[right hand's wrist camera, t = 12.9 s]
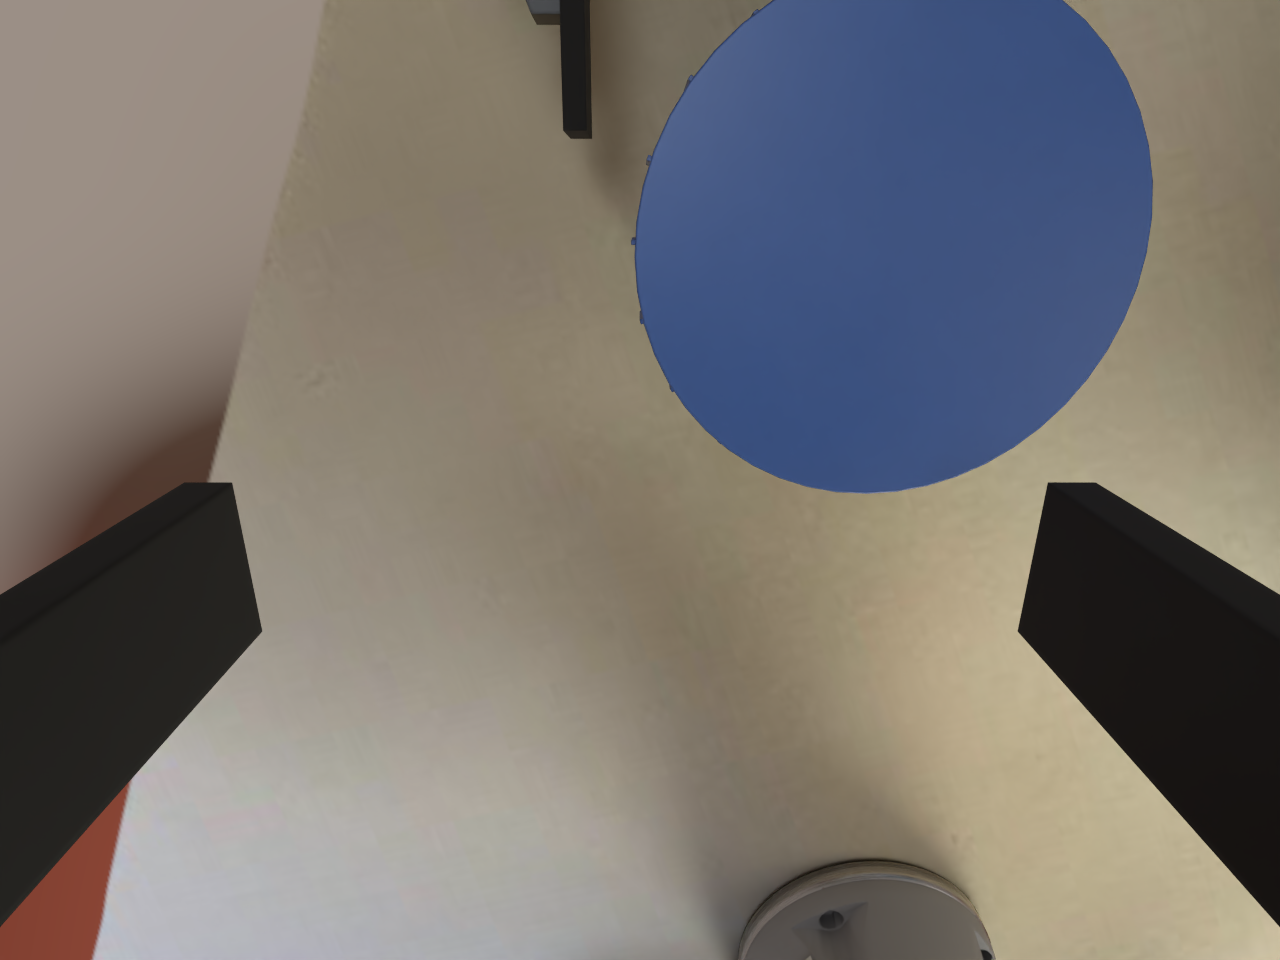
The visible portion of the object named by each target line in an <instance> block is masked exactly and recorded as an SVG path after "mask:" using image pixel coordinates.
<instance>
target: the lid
mask: <svg viewBox="0 0 1280 960" xmlns="http://www.w3.org/2000/svg"><path fill="white" fill-rule="evenodd" d="M646 165H648V166H649V168H648V171H647V174H646V178H645V181H644V184H643V188H642V194H641V200H640V205H639V211H638V216H637V223H636V237H632V240H631V245H635V268H636V282H637V293H638V298H639V302H640V307H641V311H640V323H641V324H644V326H645V329H646V332H647V334H648V337H649V340H650V343H651V346H652V349H653V352H654V355H655V357H656V359H657V361H658V363H659V365H660V367H661V369H662V371H663V373H664V375H665V377H666V379H667V381H668V383H669V386H670V390H671V391H672V392H675V393H676V395H677V396H678V398H679V399H680V400H681V402H682V403H683V405H684V406H685V408H686V409H687V410H688V411H689V412H690V413H691V415H692V416H693V417H694V418H695V419H696V420H697V421H698V422H699V424H700V425H701V426H702V427H703V428H704V429H705V430H706V431H707V432H708V433H709V434H710V435H712V436H713V437H714V438H715V439H716V440H717V441H718V442H719V443H720V444H722V445H723V446H725V447H726V448H727V449H728V450H730V451H731V452H733V453H734V454H736V455H737V456H739V457H740V458H742V459H744V460H745V461H747V462H748V463H750V464H751V465H753V466H755V467H757V468H759V469H761V470H763V471H766V472H768V473H770V474H772V475H774V476H776V477H778V478H781V479H784V480H787V481H790V482H794V483H797V484H800V485H803V486H806V487H811V488H816V489H822V490H827V491H833V492H843V493H862V494H869V493H884V492H897V491H903V490H908V489H913V488H918V487H924V486H928V485H931V484H934V483H938V482H941V481H944V480H947V479H950V478H954V477H957V476H959V475H961V474H964V473H966V472H968V471H970V470H973V469H975V468H977V467H979V466H982V465H984V464H986V463H988V462H989V461H991V460H993V459H995V458H996V457H998V456H1000V455H1001V454H1003V453H1005V452H1007V451H1008V450H1010V449H1012V448H1013V447H1015V446H1016V445H1018V444H1019V443H1020V442H1022V441H1023V440H1024V439H1026V438H1027V437H1028V436H1030V435H1031V434H1032V433H1034V432H1035V431H1036V430H1038V429H1039V428H1040V427H1042V426H1043V425H1044V424H1045V423H1046V422H1047V421H1048V420H1049V419H1050V418H1051V417H1052V416H1053V415H1055V414H1056V413H1057V412H1058V411H1059V410H1060V409H1061V408H1062V407H1063V406H1064V405H1065V404H1066V403H1067V402H1068V401H1069V400H1070V399H1071V397H1072V396H1073V395H1074V394H1075V393H1076V392H1077V390H1078V389H1079V388H1080V387H1081V386H1082V385H1083V384H1084V382H1085V381H1086V380H1087V379H1088V378H1089V376H1090V375H1091V373H1092V372H1093V370H1094V369H1095V367H1096V366H1097V365H1098V363H1099V362H1100V360H1101V359H1102V357H1103V356H1104V354H1105V353H1106V352H1107V350H1108V348H1109V346H1110V344H1111V343H1112V341H1113V339H1114V337H1115V335H1116V333H1117V332H1118V330H1119V328H1120V326H1121V324H1122V322H1123V321H1124V318H1125V316H1126V313H1127V311H1128V308H1129V306H1130V303H1131V301H1132V298H1133V296H1134V294H1135V291H1136V289H1137V286H1138V282H1139V278H1140V275H1141V271H1142V268H1143V264H1144V260H1145V257H1146V253H1147V247H1148V240H1149V233H1150V226H1151V220H1152V190H1153V180H1152V170H1151V161H1150V152H1149V144H1148V140H1147V136H1146V132H1145V128H1144V124H1143V120H1142V116H1141V112H1140V109H1139V107H1138V105H1137V102H1136V100H1135V97H1134V95H1133V92H1132V90H1131V87H1130V85H1129V83H1128V80H1127V78H1126V76H1125V75H1124V73H1123V71H1122V69H1121V68H1120V66H1119V64H1118V63H1117V61H1116V59H1115V58H1114V56H1113V54H1112V53H1111V51H1110V49H1109V48H1108V47H1107V45H1106V44H1105V43H1104V42H1103V41H1102V39H1101V38H1100V37H1099V36H1098V35H1097V33H1096V32H1095V31H1094V30H1093V29H1092V27H1091V26H1090V25H1089V24H1088V23H1087V21H1086V20H1085V19H1084V18H1082V17H1081V16H1080V15H1079V14H1078V13H1077V12H1076V11H1074V10H1073V9H1072V8H1071V7H1070V6H1069V5H1067V4H1066V3H1065V2H1064V1H1063V0H773V1H771V2H770V3H769V4H767V5H766V6H765V7H763V8H762V9H761V10H758V9H757V10H756V11H754V12H753V14H752V15H751V17H750V18H749V19H748V20H746V21H745V22H744V23H742V24H741V25H740V26H739V27H738V28H737V29H736V30H735V31H734V32H733V33H732V34H731V35H730V36H729V37H728V38H727V39H726V40H725V41H724V42H723V43H722V44H721V45H720V46H719V47H718V48H717V49H716V50H715V51H714V52H713V53H712V54H711V56H710V57H709V58H708V60H707V61H706V62H705V63H704V65H703V66H702V67H701V68H700V70H699V71H698V72H697V73H696V75H695V76H692V75H691V76H690V77H689V78H688V81H687V84H686V86H685V89H684V92H683V94H682V96H681V97H680V99H679V101H678V102H677V104H676V106H675V107H674V109H673V111H672V112H671V114H670V116H669V118H668V120H667V122H666V124H665V127H664V129H663V131H662V133H661V136H660V138H659V140H658V142H657V145H656V147H655V149H654V152H653V155H652V156H650V155H648V157H647V161H646Z"/></svg>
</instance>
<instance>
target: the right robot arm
mask: <svg viewBox="0 0 1280 960" xmlns="http://www.w3.org/2000/svg"><path fill="white" fill-rule="evenodd" d="M261 632H262V628H261V623H260V618H259V613H258V608H257V603H256V598H255V593H254V588H253V584H252V579H251V574H250V569H249V564H248V559H247V554H246V549H245V544H244V539H243V534H242V529H241V524H240V519H239V515H238V510H237V505H236V500H235V495H234V490H233V485H232V483H183V484H181V485H180V486H178V487H177V488H175V489H173V490H172V491H170V492H168V493H167V494H165V495H163V496H162V497H160V498H158V499H157V500H155V501H153V502H152V503H150V504H149V505H147V506H145V507H144V508H142V509H140V510H139V511H137V512H135V513H134V514H132V515H130V516H129V517H127V518H126V519H124V520H122V521H121V522H119V523H117V524H116V525H114V526H112V527H111V528H109V529H107V530H106V531H104V532H103V533H101V534H99V535H98V536H96V537H94V538H93V539H91V540H89V541H88V542H86V543H84V544H83V545H81V546H80V547H78V548H76V549H75V550H73V551H71V552H70V553H68V554H67V555H65V556H63V557H62V558H60V559H58V560H57V561H55V562H53V563H52V564H50V565H48V566H47V567H45V568H43V569H42V570H40V571H39V572H37V573H35V574H34V575H32V576H30V577H29V578H27V579H25V580H24V581H22V582H20V583H19V584H17V585H16V586H14V587H12V588H11V589H9V590H7V591H6V592H4V593H2V594H1V595H0V927H1V925H2V924H3V923H4V922H5V921H6V920H7V919H8V917H9V916H10V915H11V914H12V913H13V912H14V911H15V910H16V908H17V907H18V906H19V905H20V904H21V903H22V902H23V901H24V899H25V898H26V897H27V896H28V895H29V894H30V893H31V892H32V890H33V889H34V888H35V887H36V886H37V885H38V884H39V883H40V881H41V880H42V879H43V878H44V877H45V876H46V875H47V874H48V872H49V871H50V870H51V869H52V868H53V867H54V866H55V864H56V863H57V862H58V861H59V860H60V859H61V858H62V857H63V855H64V854H65V853H66V852H67V851H68V850H69V849H70V848H71V846H72V845H73V844H74V843H75V842H76V841H77V840H78V839H79V837H80V836H81V835H82V834H83V833H84V832H85V831H86V830H87V828H88V827H89V826H90V825H91V824H92V823H93V822H94V820H95V819H96V818H97V817H98V816H99V815H100V814H101V813H102V811H103V810H104V809H105V808H106V807H107V806H108V805H109V804H110V802H111V801H112V800H113V799H114V798H115V797H116V796H117V795H118V793H119V792H120V791H121V790H122V789H123V788H124V787H125V785H126V784H127V783H128V782H129V781H130V780H131V779H132V778H133V777H134V775H135V774H136V773H137V772H138V771H139V770H140V769H141V767H142V766H143V765H144V764H145V763H146V762H147V761H148V760H149V758H150V757H151V756H152V755H153V754H154V753H155V752H156V751H157V749H158V748H159V747H160V746H161V745H162V744H163V743H164V742H165V740H166V739H167V738H168V737H169V736H170V735H171V734H172V733H173V731H174V730H175V729H176V728H177V727H178V726H179V725H180V723H181V722H182V721H183V720H184V719H185V718H186V717H187V716H188V714H189V713H190V712H191V711H192V710H193V709H194V708H195V707H196V705H197V704H198V703H199V702H200V701H201V700H202V699H203V698H204V696H205V695H206V694H207V693H208V692H209V691H210V690H211V689H212V687H213V686H214V685H215V684H216V683H217V682H218V681H219V679H220V678H221V677H222V676H223V675H224V674H225V673H226V672H227V670H228V669H229V668H230V667H231V666H232V665H233V664H234V663H235V661H236V660H237V659H238V658H239V657H240V656H241V655H242V654H243V652H244V651H245V650H246V649H247V648H248V647H249V646H250V645H251V643H252V642H253V641H254V640H255V639H256V638H257V637H258V636H259V634H260V633H261ZM1018 632H1019V633H1020V634H1021V636H1022V637H1023V638H1024V639H1025V640H1026V641H1027V642H1028V643H1029V645H1030V646H1031V647H1032V648H1033V649H1034V650H1035V651H1036V652H1037V654H1038V655H1039V656H1040V657H1041V658H1042V659H1043V660H1044V661H1045V663H1046V664H1047V665H1048V666H1049V667H1050V668H1051V669H1052V670H1053V672H1054V673H1055V674H1056V675H1057V676H1058V677H1059V678H1060V679H1061V681H1062V682H1063V683H1064V684H1065V685H1066V686H1067V687H1068V689H1069V690H1070V691H1071V692H1072V693H1073V694H1074V695H1075V696H1076V698H1077V699H1078V700H1079V701H1080V702H1081V703H1082V704H1083V705H1084V707H1085V708H1086V709H1087V710H1088V711H1089V712H1090V713H1091V714H1092V716H1093V717H1094V718H1095V719H1096V720H1097V721H1098V722H1099V723H1100V725H1101V726H1102V727H1103V728H1104V729H1105V730H1106V731H1107V733H1108V734H1109V735H1110V736H1111V737H1112V738H1113V739H1114V740H1115V742H1116V743H1117V744H1118V745H1119V746H1120V747H1121V748H1122V749H1123V751H1124V752H1125V753H1126V754H1127V755H1128V756H1129V757H1130V758H1131V760H1132V761H1133V762H1134V763H1135V764H1136V765H1137V766H1138V767H1139V769H1140V770H1141V771H1142V772H1143V773H1144V774H1145V775H1146V777H1147V778H1148V779H1149V780H1150V781H1151V782H1152V783H1153V784H1154V786H1155V787H1156V788H1157V789H1158V790H1159V791H1160V792H1161V793H1162V795H1163V796H1164V797H1165V798H1166V799H1167V800H1168V801H1169V802H1170V804H1171V805H1172V806H1173V807H1174V808H1175V809H1176V810H1177V811H1178V813H1179V814H1180V815H1181V816H1182V817H1183V818H1184V819H1185V820H1186V822H1187V823H1188V824H1189V825H1190V826H1191V827H1192V828H1193V830H1194V831H1195V832H1196V833H1197V834H1198V835H1199V836H1200V837H1201V839H1202V840H1203V841H1204V842H1205V843H1206V844H1207V845H1208V846H1209V848H1210V849H1211V850H1212V851H1213V852H1214V853H1215V854H1216V855H1217V857H1218V858H1219V859H1220V860H1221V861H1222V862H1223V863H1224V864H1225V866H1226V867H1227V868H1228V869H1229V870H1230V871H1231V872H1232V874H1233V875H1234V876H1235V877H1236V878H1237V879H1238V880H1239V881H1240V883H1241V884H1242V885H1243V886H1244V887H1245V888H1246V889H1247V890H1248V892H1249V893H1250V894H1251V895H1252V896H1253V897H1254V898H1255V899H1256V901H1257V902H1258V903H1259V904H1260V905H1261V906H1262V907H1263V908H1264V910H1265V911H1266V912H1267V913H1268V914H1269V915H1270V916H1271V918H1272V919H1273V920H1274V921H1275V922H1276V923H1277V924H1278V925H1279V927H1280V595H1279V594H1278V593H1276V592H1274V591H1273V590H1271V589H1269V588H1268V587H1266V586H1264V585H1263V584H1261V583H1260V582H1258V581H1256V580H1255V579H1253V578H1251V577H1250V576H1248V575H1246V574H1245V573H1243V572H1241V571H1240V570H1238V569H1237V568H1235V567H1233V566H1232V565H1230V564H1228V563H1227V562H1225V561H1223V560H1222V559H1220V558H1218V557H1217V556H1215V555H1214V554H1212V553H1210V552H1209V551H1207V550H1205V549H1204V548H1202V547H1200V546H1199V545H1197V544H1196V543H1194V542H1192V541H1191V540H1189V539H1187V538H1186V537H1184V536H1182V535H1181V534H1179V533H1177V532H1176V531H1174V530H1173V529H1171V528H1169V527H1168V526H1166V525H1164V524H1163V523H1161V522H1159V521H1158V520H1156V519H1154V518H1153V517H1151V516H1150V515H1148V514H1146V513H1145V512H1143V511H1141V510H1140V509H1138V508H1136V507H1135V506H1133V505H1131V504H1130V503H1128V502H1127V501H1125V500H1123V499H1122V498H1120V497H1118V496H1117V495H1115V494H1113V493H1112V492H1110V491H1108V490H1107V489H1105V488H1104V487H1102V486H1100V485H1099V484H1097V483H1048V485H1047V490H1046V495H1045V500H1044V505H1043V510H1042V515H1041V519H1040V524H1039V529H1038V534H1037V539H1036V544H1035V549H1034V554H1033V559H1032V564H1031V569H1030V574H1029V579H1028V584H1027V588H1026V593H1025V598H1024V603H1023V608H1022V613H1021V618H1020V623H1019V628H1018ZM738 960H996V959H995V955H994V952H993V949H992V946H991V942H990V939H989V937H988V934H987V932H986V930H985V927H984V925H983V923H982V921H981V919H980V917H979V915H978V913H977V911H976V909H975V908H974V906H973V905H972V903H971V902H970V900H969V899H968V898H967V897H966V896H965V895H964V894H963V893H962V892H961V891H960V890H959V889H958V888H957V887H955V886H954V885H953V884H951V883H950V882H948V881H947V880H945V879H944V878H942V877H940V876H938V875H936V874H934V873H932V872H929V871H927V870H924V869H921V868H918V867H915V866H911V865H906V864H902V863H894V862H884V861H862V862H851V863H845V864H839V865H835V866H831V867H827V868H824V869H821V870H818V871H815V872H812V873H810V874H807V875H805V876H803V877H801V878H799V879H797V880H795V881H793V882H791V883H789V884H788V885H786V886H784V887H783V888H781V889H780V890H779V891H777V892H776V893H775V894H773V895H772V896H771V897H770V898H769V899H768V900H767V901H765V902H764V903H763V905H762V906H761V907H760V908H759V909H758V910H757V911H756V913H755V914H754V915H753V917H752V918H751V920H750V921H749V923H748V925H747V927H746V929H745V931H744V933H743V936H742V939H741V942H740V947H739V957H738Z"/></svg>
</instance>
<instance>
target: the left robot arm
mask: <svg viewBox="0 0 1280 960" xmlns="http://www.w3.org/2000/svg"><path fill="white" fill-rule="evenodd" d="M526 2H527V4H528V7H529V9H530V12H531V14H532V16H533V18H534V20H535V22H536V24H537V25H560V34H561V68H562V102H563V131H564V132H565V133H566V134H567V135H568V136H569V137H570V138H571V139H592V113H591V56H590V0H526Z"/></svg>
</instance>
